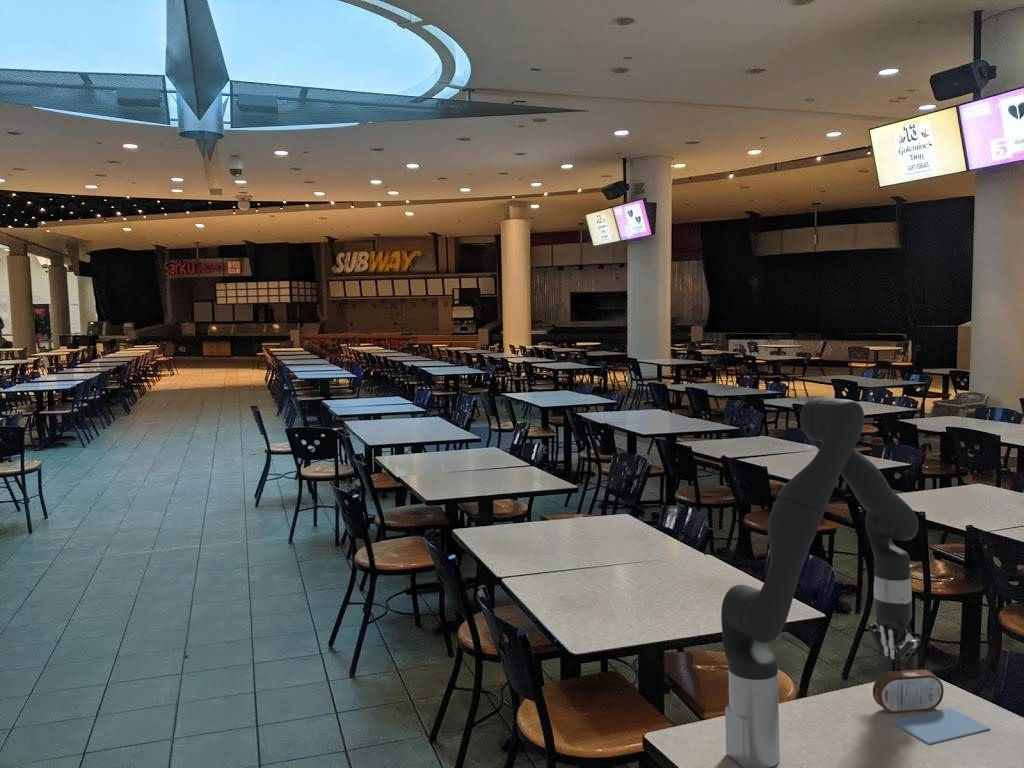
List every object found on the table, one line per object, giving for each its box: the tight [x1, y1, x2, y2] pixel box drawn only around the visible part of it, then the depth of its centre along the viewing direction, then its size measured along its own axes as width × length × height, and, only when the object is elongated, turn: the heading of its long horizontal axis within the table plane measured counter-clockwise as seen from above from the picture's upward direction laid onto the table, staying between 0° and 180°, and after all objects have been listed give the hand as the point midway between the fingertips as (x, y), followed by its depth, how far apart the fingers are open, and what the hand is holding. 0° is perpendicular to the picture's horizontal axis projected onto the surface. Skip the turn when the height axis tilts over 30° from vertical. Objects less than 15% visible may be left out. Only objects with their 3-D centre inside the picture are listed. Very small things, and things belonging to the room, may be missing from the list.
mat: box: [889, 707, 991, 746], centre depth 164 cm, size 16×10×1 cm, turn 108°
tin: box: [872, 669, 945, 714], centre depth 172 cm, size 15×3×8 cm, turn 95°
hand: (893, 673), depth 175 cm, fingers closed
